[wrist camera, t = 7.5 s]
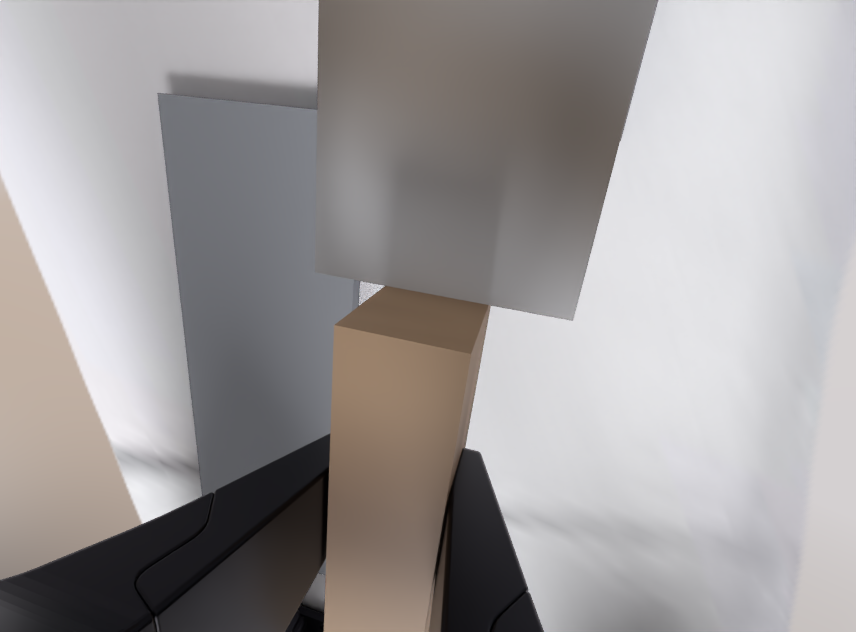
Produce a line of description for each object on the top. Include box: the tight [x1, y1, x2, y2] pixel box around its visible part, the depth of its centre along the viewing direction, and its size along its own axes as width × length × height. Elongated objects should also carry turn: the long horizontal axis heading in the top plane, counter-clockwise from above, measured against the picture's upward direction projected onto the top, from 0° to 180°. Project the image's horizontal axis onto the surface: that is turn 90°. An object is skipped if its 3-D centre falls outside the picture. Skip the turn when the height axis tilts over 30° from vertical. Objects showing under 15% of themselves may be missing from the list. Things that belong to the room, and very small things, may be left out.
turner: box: [315, 0, 656, 632], centre depth 7 cm, size 14×5×3 cm, turn 173°
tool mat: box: [158, 93, 360, 575], centre depth 18 cm, size 22×8×1 cm, turn 173°
